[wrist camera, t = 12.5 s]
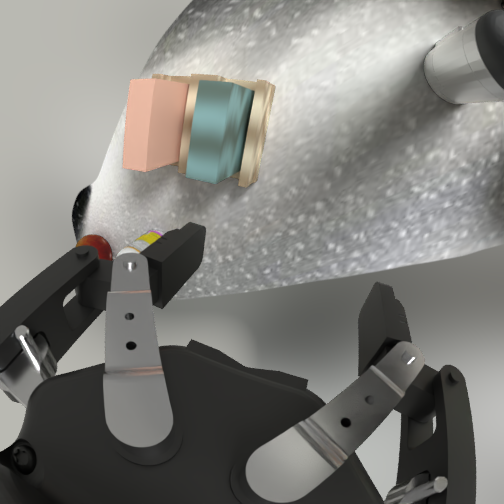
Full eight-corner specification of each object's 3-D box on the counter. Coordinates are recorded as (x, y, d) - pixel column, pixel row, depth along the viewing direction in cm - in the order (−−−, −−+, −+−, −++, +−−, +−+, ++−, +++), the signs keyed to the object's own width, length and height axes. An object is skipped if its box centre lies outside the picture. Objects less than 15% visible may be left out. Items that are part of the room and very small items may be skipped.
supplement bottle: (170, 264, 54) (133, 300, 42) (144, 251, 54) (104, 282, 43) (175, 236, 50) (135, 269, 39) (147, 223, 51) (104, 251, 40)
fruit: (124, 253, 56) (101, 270, 49) (110, 272, 61) (89, 289, 54) (98, 221, 55) (73, 235, 48) (86, 243, 59) (64, 258, 52)
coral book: (174, 85, 36) (130, 79, 27) (196, 85, 36) (155, 78, 26) (166, 155, 42) (122, 168, 32) (186, 158, 41) (145, 172, 32)
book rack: (168, 77, 37) (124, 70, 27) (275, 86, 34) (254, 72, 24) (158, 160, 44) (114, 174, 34) (256, 180, 41) (231, 200, 32)
